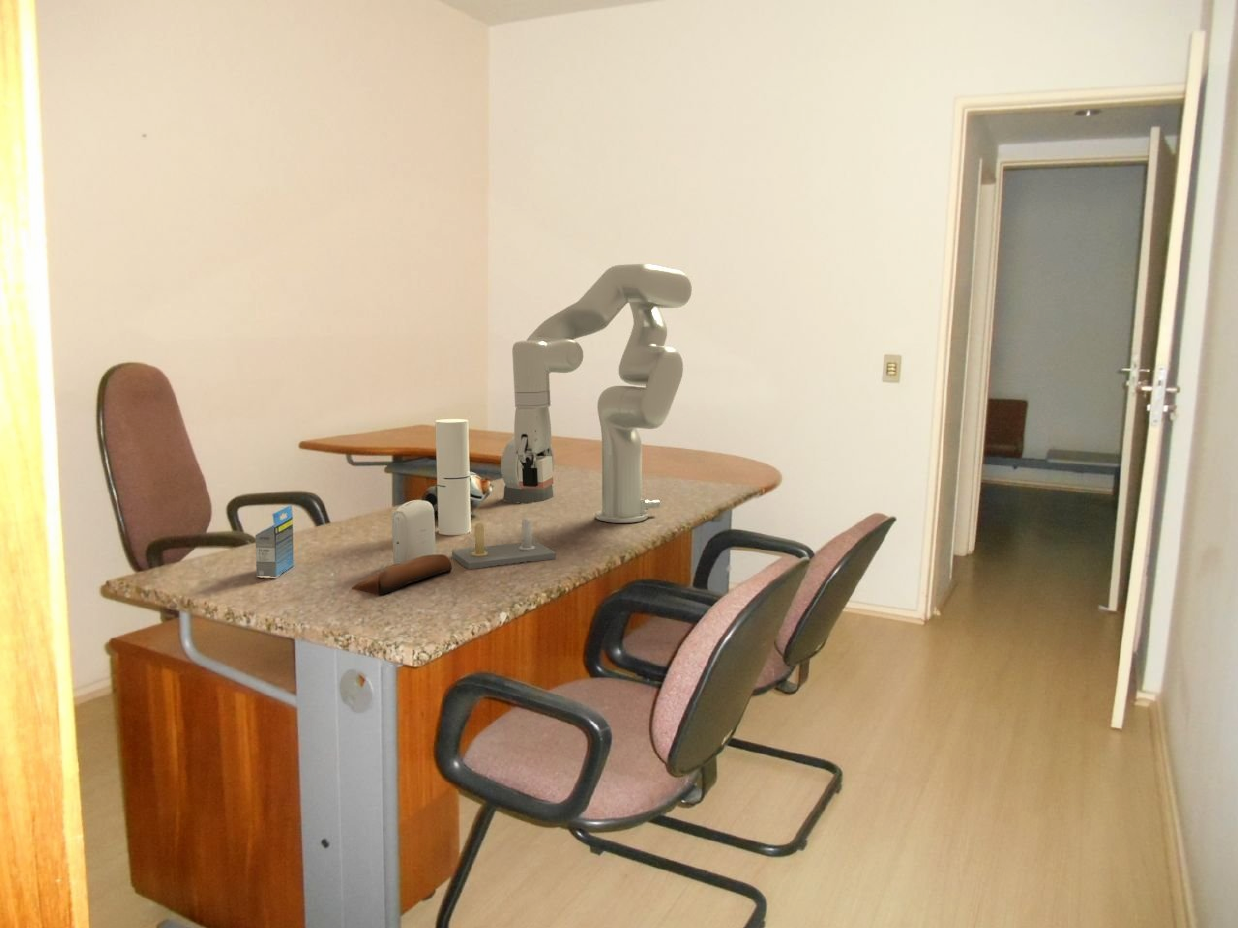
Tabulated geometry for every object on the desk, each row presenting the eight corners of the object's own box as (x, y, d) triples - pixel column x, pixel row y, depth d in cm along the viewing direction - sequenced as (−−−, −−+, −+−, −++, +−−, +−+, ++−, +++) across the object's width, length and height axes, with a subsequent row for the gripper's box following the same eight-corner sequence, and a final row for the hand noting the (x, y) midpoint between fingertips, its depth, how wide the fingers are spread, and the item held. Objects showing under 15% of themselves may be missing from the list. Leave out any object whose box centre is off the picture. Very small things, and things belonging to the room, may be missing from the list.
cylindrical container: (464, 535, 203) (461, 422, 199) (433, 534, 205) (430, 422, 201) (475, 528, 210) (473, 419, 206) (446, 527, 212) (442, 418, 208)
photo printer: (409, 571, 175) (407, 507, 173) (390, 568, 176) (387, 505, 175) (439, 558, 184) (437, 497, 182) (420, 556, 186) (418, 495, 184)
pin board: (535, 546, 194) (534, 511, 193) (555, 558, 184) (555, 521, 183) (451, 556, 186) (450, 519, 185) (468, 569, 176) (467, 530, 175)
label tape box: (275, 566, 178) (271, 503, 176) (296, 566, 178) (292, 504, 176) (255, 579, 169) (252, 513, 167) (277, 579, 169) (274, 513, 167)
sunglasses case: (419, 565, 178) (431, 539, 175) (443, 588, 176) (456, 561, 173) (347, 589, 163) (359, 560, 160) (372, 614, 160) (385, 585, 158)
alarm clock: (534, 491, 255) (533, 426, 252) (562, 496, 249) (562, 428, 247) (493, 501, 242) (492, 432, 240) (522, 505, 236) (521, 434, 234)
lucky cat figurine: (467, 507, 234) (489, 461, 230) (482, 534, 225) (506, 487, 221) (413, 496, 225) (435, 448, 221) (427, 524, 216) (450, 475, 212)
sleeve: (529, 482, 202) (528, 455, 201) (553, 483, 201) (552, 456, 200) (519, 488, 197) (517, 460, 196) (543, 489, 195) (542, 461, 194)
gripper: (532, 394, 205) (536, 474, 208) (498, 404, 189) (503, 491, 192) (563, 394, 202) (567, 475, 206) (532, 405, 186) (536, 492, 190)
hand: (536, 482), depth 199 cm, fingers closed on sleeve, 5 cm apart
